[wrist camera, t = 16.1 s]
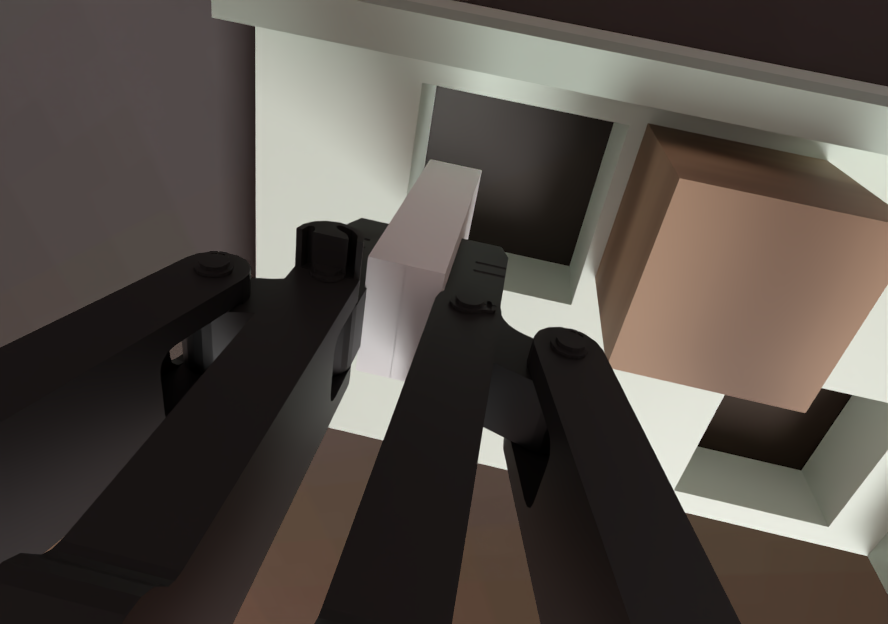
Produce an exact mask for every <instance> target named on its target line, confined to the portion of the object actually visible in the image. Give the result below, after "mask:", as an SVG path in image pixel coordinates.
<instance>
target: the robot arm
mask: <svg viewBox="0 0 888 624" xmlns="http://www.w3.org/2000/svg"><path fill="white" fill-rule="evenodd" d="M481 173H482V170H479V169H474V168H469V167H465V166H460V165H455V164H451V163H446V162H441V161H437V160H432V159H430V160H429V162H428V164H427V165H426V167H425V168H424V170H423V171H422V173H421V175H420V176H419V178H418V179H417V181H416V182H415V184H414V186H413V187H412V189H411V190H410V192H409V193H408V195H407V196H406V198H405V200H404V201H403V203H402V204H401V206H400V207H399V209H398V211H397V212H396V214H395V215H394V217H393V218H392V220H391V222H390V223H389V224H388V223H383V222H379V221H374V220H369V219H365V218H360V219H358V220H355V221H353V222H350V223H348V224H343V223H340V222H333V221H313V222H309V223H304V224H302V225H301V226H299V227H297V228H296V253H295V267H294V268H293V269H292V270H291V271H290V272H289V274H288V275H287V276H286V277H285V278H283V279H268V278H251V266H250V265H249V263H248V262H247V261H246V260H245V259H243V258H241V257H239V256H237V255H233V254H229V253H226V252H218V251H210V252H206V253H198V254H195V255H192V256H189V257H186V258H184V259H182V260H180V261H178V262H176V263H174V264H172V265H169V266H167V267H165V268H163V269H161V270H159V271H157V272H155V273H153V274H151V275H149V276H147V277H145V278H143V279H141V280H139V281H137V282H134V283H132V284H130V285H128V286H126V287H124V288H122V289H120V290H118V291H116V292H114V293H112V294H110V295H108V296H106V297H104V298H102V299H99V300H97V301H95V302H93V303H91V304H89V305H87V306H85V307H83V308H81V309H79V310H77V311H75V312H73V313H71V314H69V315H67V316H65V317H62V318H60V319H58V320H56V321H54V322H52V323H50V324H48V325H46V326H44V327H42V328H40V329H38V330H36V331H34V332H32V333H30V334H27V335H25V336H23V337H21V338H19V339H17V340H15V341H13V342H11V343H9V344H7V345H5V346H3V347H1V348H0V624H233V622H234V620H235V618H236V616H237V614H238V612H239V610H240V607H241V605H242V603H243V601H244V599H245V597H246V595H247V593H248V591H249V589H250V587H251V585H252V583H253V581H254V579H255V577H256V575H257V572H258V570H259V568H260V566H261V564H262V562H263V560H264V558H265V556H266V554H267V552H268V550H269V548H270V546H271V544H272V542H273V540H274V537H275V535H276V533H277V531H278V529H279V527H280V525H281V523H282V521H283V519H284V517H285V515H286V513H287V511H288V509H289V507H290V505H291V503H292V500H293V498H294V496H295V494H296V492H297V490H298V488H299V486H300V484H301V482H302V480H303V478H304V476H305V474H306V472H307V470H308V468H309V465H310V463H311V461H312V459H313V457H314V455H315V453H316V451H317V449H318V447H319V445H320V443H321V441H322V439H323V437H324V435H325V433H326V430H327V428H328V426H329V424H330V422H331V420H332V418H333V416H334V414H335V412H336V410H337V408H338V406H339V404H340V402H341V400H342V398H343V395H344V393H345V391H346V389H347V387H348V385H349V380H350V372H351V364H352V362H353V360H354V358H355V356H356V354H357V352H358V354H357V363H356V370H357V371H362V372H366V373H370V374H374V375H379V376H383V377H387V378H391V379H396V380H400V381H404V385H403V388H402V390H401V393H400V396H399V399H398V401H397V404H396V407H395V410H394V412H393V415H392V418H391V420H390V423H389V426H388V429H387V431H386V434H385V437H384V440H383V442H382V445H381V448H380V451H379V453H378V456H377V459H376V461H375V464H374V467H373V470H372V472H371V475H370V478H369V481H368V483H367V486H366V489H365V492H364V494H363V497H362V500H361V502H360V505H359V508H358V511H357V513H356V516H355V519H354V522H353V524H352V527H351V530H350V533H349V535H348V538H347V541H346V543H345V546H344V549H343V552H342V554H341V557H340V560H339V563H338V565H337V568H336V571H335V574H334V576H333V579H332V582H331V585H330V587H329V590H328V593H327V595H326V598H325V601H324V604H323V606H322V609H321V611H320V614H319V616H318V618H317V620H316V622H315V624H452V619H453V612H454V606H455V600H456V594H457V588H458V581H459V575H460V569H461V563H462V556H463V550H464V544H465V538H466V531H467V525H468V519H469V513H470V507H471V500H472V494H473V488H474V482H475V475H476V469H477V463H478V457H479V451H480V444H481V438H482V432H483V427H484V428H486V429H488V430H490V431H492V432H494V433H496V434H498V435H500V436H502V437H504V440H503V451H504V456H505V460H506V465H507V470H508V474H509V479H510V483H511V488H512V493H513V497H514V502H515V507H516V511H517V516H518V521H519V525H520V530H521V535H522V539H523V544H524V549H525V553H526V558H527V563H528V567H529V572H530V577H531V581H532V586H533V591H534V595H535V600H536V605H537V609H538V614H539V618H540V623H541V624H741V623H740V621H739V619H738V617H737V615H736V613H735V611H734V609H733V607H732V605H731V603H730V601H729V599H728V597H727V595H726V593H725V591H724V589H723V587H722V585H721V583H720V581H719V579H718V577H717V575H716V573H715V571H714V569H713V567H712V565H711V563H710V561H709V559H708V557H707V555H706V553H705V551H704V549H703V547H702V545H701V543H700V541H699V539H698V537H697V535H696V534H695V532H694V530H693V528H692V526H691V524H690V522H689V520H688V518H687V516H686V514H685V512H684V510H683V508H682V506H681V504H680V502H679V500H678V498H677V496H676V494H675V492H674V490H673V488H672V486H671V484H670V482H669V480H668V478H667V476H666V474H665V472H664V470H663V468H662V466H661V464H660V462H659V460H658V458H657V456H656V454H655V452H654V450H653V448H652V446H651V444H650V442H649V440H648V438H647V436H646V434H645V432H644V430H643V428H642V426H641V424H640V422H639V420H638V418H637V416H636V414H635V412H634V410H633V409H632V407H631V405H630V403H629V401H628V399H627V397H626V395H625V393H624V391H623V389H622V387H621V385H620V383H619V381H618V379H617V377H616V375H615V373H614V371H613V369H612V367H611V365H610V363H609V361H608V359H607V357H606V355H605V353H604V351H603V349H602V348H601V347H600V346H599V344H598V343H597V342H596V341H594V340H593V339H591V338H590V337H589V336H587V335H586V334H584V333H582V332H580V331H579V332H578V331H577V330H574V329H570V328H569V329H568V328H563V327H547V328H544V329H541V330H539V331H538V332H537V333H536V335H535V336H534V338H532V337H529V336H527V335H525V334H523V333H521V332H519V331H517V330H515V329H514V328H513V327H511V326H510V325H509V324H508V323H507V322H506V321H505V320H504V319H503V317H502V315H501V314H502V311H501V300H502V294H503V288H504V282H505V276H506V269H507V263H508V257H507V255H506V253H505V252H504V250H503V249H502V247H499V246H494V245H490V244H485V243H481V242H476V241H472V240H468V237H469V232H470V227H471V222H472V217H473V212H474V207H475V202H476V198H477V193H478V188H479V183H480V178H481ZM181 341H182V347H183V354H182V355H181V356H179V357H178V358H176V359H174V360H171V358H170V352H169V350H171V349H172V348H173V347H174V346H175V345H176V344H178V343H179V342H181ZM63 537H64V538H63ZM62 538H63V539H62ZM60 539H62V540H61V541H60V542H59V543H58V544H57V545H56V546H55V547H54V548H53V549H51V550H50V551H48V552H46V551H47V550H48V549H49V548H51V547H52V546H53V545H54V544H55V543H57V542H58V541H59V540H60ZM44 552H46V553H44ZM43 553H44V554H43Z"/></svg>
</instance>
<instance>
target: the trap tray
mask: <svg viewBox="0 0 888 624" xmlns="http://www.w3.org/2000/svg"><path fill="white" fill-rule="evenodd" d="M211 5H212V18H217V19H222V20H227V21H232V22H237V23H241V24H246V25H251V26H255V97H256V278H268V279H283V278H285V277H286V276H287V275H288V274H289V272H290V271H291V270H292V269H293V268H294V267H295V253H296V228H297V227H299V226H301V225H302V224H304V223H309V222H313V221H333V222H340V223H343V224H348V223H350V222H353V221H355V220H358V219H360V218H365V219H369V220H374V221H379V222H383V223H388V224H389V223H390V222H391V220H392V218H393V217H394V215H395V214H396V212H397V211H398V209H399V207H400V206H401V204H402V203H403V201H404V200H405V198H406V196H407V195H408V193H409V192H410V190H411V189H412V187H413V186H414V184H415V182H416V181H417V179H418V178H419V176H420V175H421V173H422V171H423V170H424V167H425V160H426V154H427V147H428V140H429V134H430V127H431V120H432V114H433V107H434V100H435V94H436V87H437V86H441V87H445V88H450V89H455V90H460V91H465V92H470V93H475V94H479V95H484V96H489V97H494V98H499V99H504V100H509V101H513V102H518V103H523V104H528V105H533V106H538V107H542V108H547V109H552V110H557V111H562V112H567V113H572V114H576V115H581V116H586V117H591V118H596V119H601V120H606V121H610V122H614V123H613V127H612V130H611V133H610V136H609V140H608V143H607V146H606V149H605V153H604V156H603V159H602V162H601V166H600V169H599V172H598V175H597V178H596V182H595V185H594V188H593V191H592V195H591V198H590V201H589V204H588V208H587V211H586V214H585V217H584V221H583V224H582V227H581V230H580V233H579V237H578V240H577V243H576V246H575V250H574V253H573V256H572V259H571V263H570V266H566V265H562V264H557V263H553V262H548V261H543V260H539V259H534V258H530V257H525V256H521V255H516V254H512V253H507V252H505V253H506V255H507V257H508V263H507V269H506V276H505V282H504V288H503V294H502V300H501V311H502V314H501V315H502V317H503V319H504V320H505V321H506V322H507V323H508V324H509V325H510V326H511V327H513V328H514V329H515V330H517V331H519V332H521V333H523V334H525V335H527V336H529V337H532V338H534V336H535V335H536V333H537V332H538V331H539V330H541V329H544V328H547V327H563V328H568V329H569V328H570V329H574V330H577V331H578V332H579V331H580V332H582V333H584V334H586V335H587V336H589V337H590V338H591V339H593V340H594V341H596V342H597V343H598V344H599V346H600V347H601V348H602V349H603V351H604V346H603V338H602V330H601V322H600V314H599V306H598V299H597V291H596V283H595V276H596V273H597V270H598V267H599V264H600V262H601V259H602V256H603V253H604V250H605V247H606V244H607V241H608V238H609V235H610V232H611V229H612V226H613V223H614V221H615V218H616V215H617V212H618V209H619V206H620V203H621V200H622V197H623V194H624V191H625V188H626V185H627V182H628V180H629V177H630V174H631V171H632V168H633V165H634V162H635V159H636V156H637V153H638V150H639V147H640V144H641V141H642V139H643V136H644V133H645V130H646V127H647V124H648V123H650V124H655V125H659V126H664V127H669V128H674V129H679V130H683V131H688V132H693V133H698V134H703V135H707V136H712V137H717V138H722V139H727V140H731V141H736V142H741V143H746V144H751V145H755V146H760V147H765V148H770V149H775V150H779V151H784V152H789V153H794V154H799V155H803V156H808V157H813V158H818V159H823V160H827V161H829V162H830V163H832V164H833V165H834V166H836V167H837V168H838V169H840V170H841V171H843V172H844V173H845V174H847V175H848V176H849V177H851V178H852V179H854V180H855V181H856V182H858V183H859V184H860V185H862V186H863V187H865V188H866V189H867V190H869V191H870V192H871V193H873V194H874V195H876V196H877V197H878V198H880V199H881V200H882V201H884V202H885V203H887V204H888V87H887V86H882V85H877V84H872V83H867V82H862V81H857V80H852V79H847V78H842V77H837V76H832V75H827V74H822V73H817V72H812V71H807V70H802V69H797V68H792V67H787V66H781V65H776V64H771V63H766V62H761V61H756V60H751V59H746V58H741V57H736V56H731V55H726V54H721V53H716V52H711V51H706V50H701V49H696V48H691V47H686V46H681V45H676V44H671V43H666V42H660V41H655V40H650V39H645V38H640V37H635V36H630V35H625V34H620V33H615V32H610V31H605V30H600V29H595V28H590V27H585V26H580V25H575V24H570V23H565V22H560V21H555V20H550V19H545V18H539V17H534V16H529V15H524V14H519V13H514V12H509V11H504V10H499V9H494V8H489V7H484V6H479V5H474V4H469V3H464V2H459V1H454V0H211ZM357 354H358V352H357ZM357 354H356V356H355V358H354V360H353V362H352V364H351V372H350V380H349V385H348V387H347V389H346V391H345V393H344V395H343V398H342V400H341V402H340V404H339V406H338V408H337V410H336V412H335V414H334V416H333V418H332V420H331V422H330V424H329V426H328V427H330V428H334V429H338V430H342V431H346V432H350V433H355V434H359V435H363V436H367V437H371V438H376V439H380V440H384V437H385V434H386V431H387V429H388V426H389V423H390V420H391V418H392V415H393V412H394V410H395V407H396V404H397V401H398V399H399V396H400V393H401V390H402V388H403V385H404V381H400V380H396V379H391V378H387V377H383V376H379V375H374V374H370V373H366V372H362V371H357V370H356V363H357ZM613 371H614V373H615V375H616V377H617V379H618V381H619V383H620V385H621V387H622V389H623V391H624V393H625V395H626V397H627V399H628V401H629V403H630V405H631V407H632V409H633V410H634V412H635V414H636V416H637V418H638V420H639V422H640V424H641V426H642V428H643V430H644V432H645V434H646V436H647V438H648V440H649V442H650V444H651V446H652V448H653V450H654V452H655V454H656V456H657V458H658V460H659V462H660V464H661V466H662V468H663V470H664V472H665V474H666V476H667V478H668V480H669V482H670V484H671V486H672V488H673V490H674V492H675V494H676V496H677V498H678V500H679V502H680V504H681V506H682V508H683V510H684V512H686V513H690V514H694V515H698V516H702V517H707V518H711V519H715V520H719V521H723V522H728V523H732V524H736V525H740V526H744V527H748V528H753V529H757V530H761V531H765V532H769V533H774V534H778V535H782V536H786V537H790V538H795V539H799V540H803V541H807V542H811V543H815V544H820V545H824V546H828V547H832V548H836V549H841V550H845V551H849V552H853V553H857V554H862V555H866V556H868V558H869V560H870V562H871V564H872V566H873V567H874V569H875V571H876V573H877V575H878V577H879V579H880V581H881V583H882V585H883V586H884V588H885V590H886V592H887V594H888V285H887V287H886V288H885V290H884V291H883V293H882V294H881V296H880V297H879V299H878V301H877V302H876V304H875V305H874V307H873V308H872V310H871V311H870V313H869V315H868V316H867V318H866V319H865V321H864V322H863V324H862V326H861V327H860V329H859V330H858V332H857V333H856V335H855V336H854V338H853V340H852V341H851V343H850V344H849V346H848V347H847V349H846V350H845V352H844V354H843V355H842V357H841V358H840V360H839V361H838V363H837V365H836V366H835V368H834V369H833V371H832V372H831V374H830V375H829V377H828V379H827V380H826V382H825V383H824V385H823V386H822V388H824V389H828V390H833V391H837V392H842V393H846V394H851V395H852V396H851V398H850V399H849V401H848V402H847V404H846V405H845V407H844V408H843V410H842V411H841V413H840V414H839V416H838V417H837V419H836V420H835V422H834V423H833V424H832V426H831V427H830V429H829V430H828V432H827V433H826V435H825V436H824V438H823V439H822V441H821V442H820V444H819V445H818V447H817V448H816V450H815V451H814V453H813V454H812V455H811V457H810V458H809V460H808V461H807V463H806V464H805V466H804V467H803V469H802V470H797V469H792V468H788V467H784V466H780V465H775V464H771V463H767V462H762V461H758V460H754V459H749V458H745V457H741V456H737V455H732V454H728V453H724V452H719V451H715V450H711V449H707V448H702V447H698V444H699V442H700V440H701V438H702V436H703V435H704V433H705V431H706V429H707V427H708V425H709V423H710V421H711V419H712V418H713V416H714V414H715V412H716V410H717V408H718V406H719V404H720V403H721V401H722V399H723V397H724V394H720V393H716V392H711V391H707V390H702V389H698V388H694V387H689V386H685V385H681V384H676V383H672V382H668V381H663V380H659V379H655V378H650V377H646V376H642V375H637V374H633V373H629V372H624V371H620V370H615V369H613ZM503 440H504V437H502V436H500V435H498V434H496V433H494V432H492V431H490V430H488V429H486V428H484V427H483V432H482V438H481V444H480V451H479V457H478V463H480V464H485V465H489V466H493V467H497V468H501V469H505V470H507V465H506V460H505V456H504V451H503Z"/></svg>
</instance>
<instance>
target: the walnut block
mask: <svg viewBox="0 0 888 624" xmlns="http://www.w3.org/2000/svg"><path fill="white" fill-rule="evenodd" d="M595 283H596V291H597V299H598V306H599V314H600V322H601V330H602V338H603V346H604V353H605V355H606V357H607V359H608V361H609V363H610V365H611V367H612V369H615V370H620V371H624V372H629V373H633V374H637V375H642V376H646V377H650V378H655V379H659V380H663V381H668V382H672V383H676V384H681V385H685V386H689V387H694V388H698V389H702V390H707V391H711V392H716V393H720V394H724V395H729V396H733V397H737V398H742V399H746V400H750V401H755V402H759V403H763V404H768V405H772V406H776V407H781V408H785V409H789V410H794V411H798V412H803V413H806V411H807V410H808V408H809V407H810V405H811V404H812V402H813V400H814V399H815V397H816V396H817V394H818V393H819V391H820V389H821V388H822V386H823V385H824V383H825V382H826V380H827V379H828V377H829V375H830V374H831V372H832V371H833V369H834V368H835V366H836V365H837V363H838V361H839V360H840V358H841V357H842V355H843V354H844V352H845V350H846V349H847V347H848V346H849V344H850V343H851V341H852V340H853V338H854V336H855V335H856V333H857V332H858V330H859V329H860V327H861V326H862V324H863V322H864V321H865V319H866V318H867V316H868V315H869V313H870V311H871V310H872V308H873V307H874V305H875V304H876V302H877V301H878V299H879V297H880V296H881V294H882V293H883V291H884V290H885V288H886V287H887V285H888V204H887V203H885V202H884V201H882V200H881V199H880V198H878V197H877V196H876V195H874V194H873V193H871V192H870V191H869V190H867V189H866V188H865V187H863V186H862V185H860V184H859V183H858V182H856V181H855V180H854V179H852V178H851V177H849V176H848V175H847V174H845V173H844V172H843V171H841V170H840V169H838V168H837V167H836V166H834V165H833V164H832V163H830V162H829V161H827V160H823V159H818V158H813V157H808V156H803V155H799V154H794V153H789V152H784V151H779V150H775V149H770V148H765V147H760V146H755V145H751V144H746V143H741V142H736V141H731V140H727V139H722V138H717V137H712V136H707V135H703V134H698V133H693V132H688V131H683V130H679V129H674V128H669V127H664V126H659V125H655V124H650V123H648V124H647V127H646V130H645V133H644V136H643V139H642V141H641V144H640V147H639V150H638V153H637V156H636V159H635V162H634V165H633V168H632V171H631V174H630V177H629V180H628V182H627V185H626V188H625V191H624V194H623V197H622V200H621V203H620V206H619V209H618V212H617V215H616V218H615V221H614V223H613V226H612V229H611V232H610V235H609V238H608V241H607V244H606V247H605V250H604V253H603V256H602V259H601V262H600V264H599V267H598V270H597V273H596V276H595Z"/></svg>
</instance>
